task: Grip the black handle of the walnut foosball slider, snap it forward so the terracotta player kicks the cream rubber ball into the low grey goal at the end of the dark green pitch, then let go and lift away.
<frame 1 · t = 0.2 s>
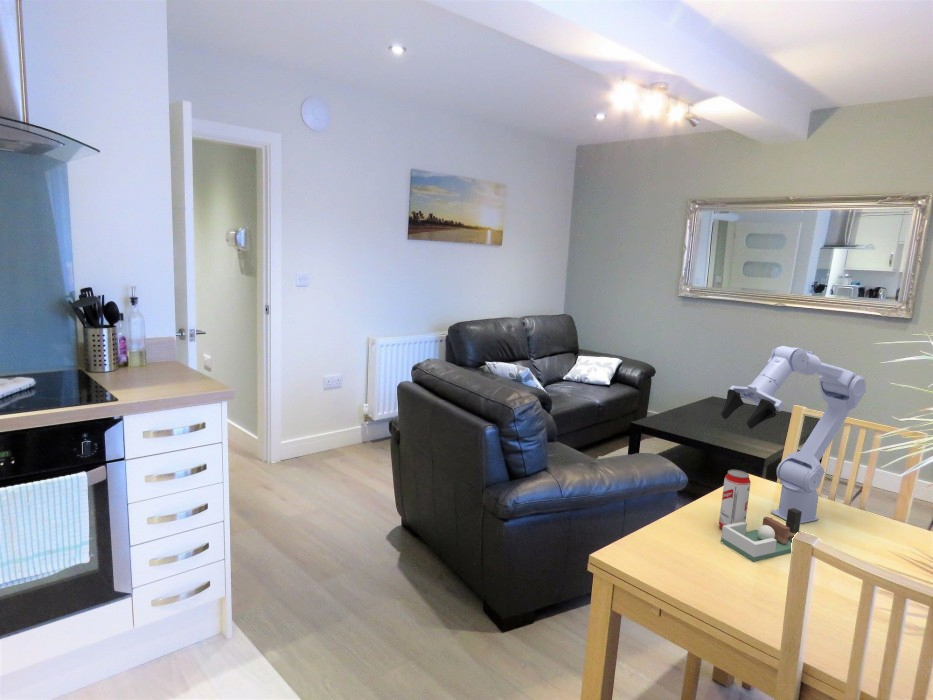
hand: (735, 421, 145), 31 cm above the table, tool tilted 45°, fingers open, 7 cm apart
ball: (766, 533, 145), point 3 cm above the table, touching pitch
pitch: (767, 544, 146), on the table
slider: (785, 523, 147), point 5 cm above the table, slide at 0.0 cm
beer can: (731, 530, 153), on the table
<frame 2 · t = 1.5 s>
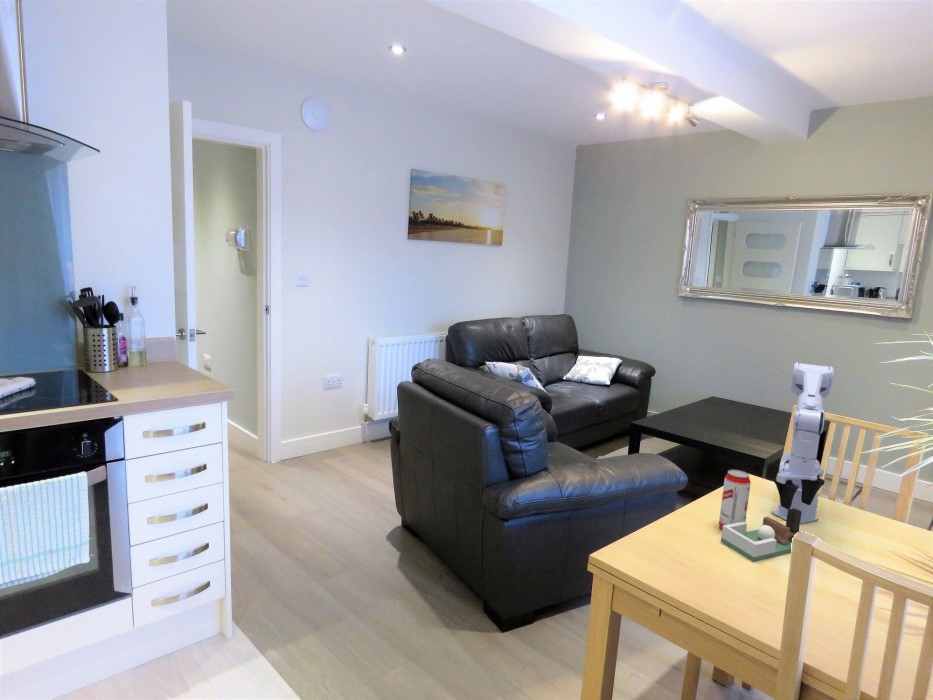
hand: (795, 505, 148), 9 cm above the table, tool pointing down, fingers open, 7 cm apart
nothing on the table moved.
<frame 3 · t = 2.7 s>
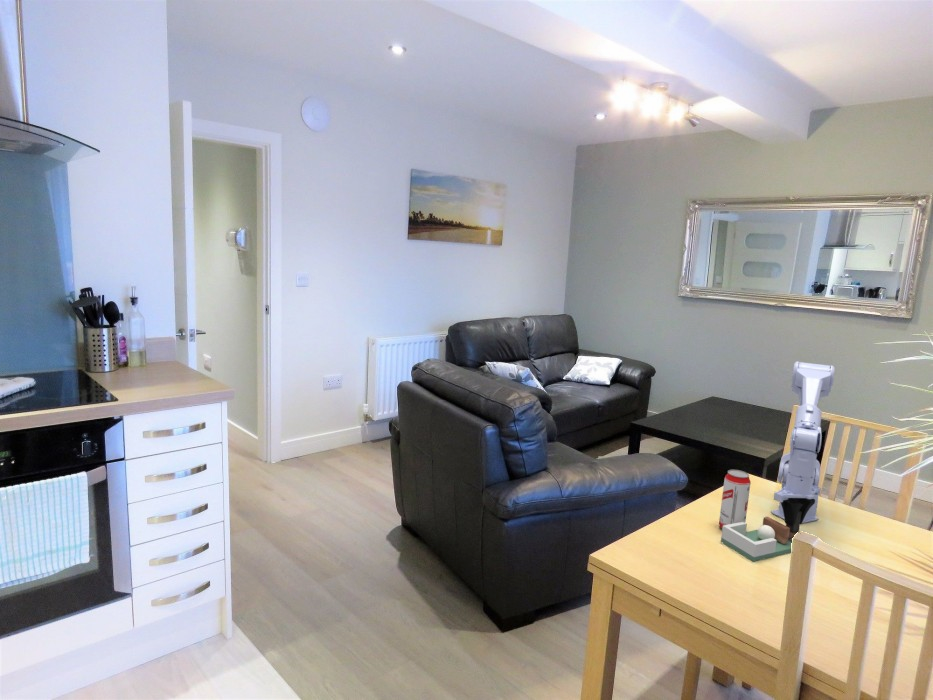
hand: (793, 523, 149), 4 cm above the table, tool pointing down, fingers closed on slider, 2 cm apart
slider: (785, 523, 147), point 5 cm above the table, slide at 0.0 cm, touching gripper
everything else where it was.
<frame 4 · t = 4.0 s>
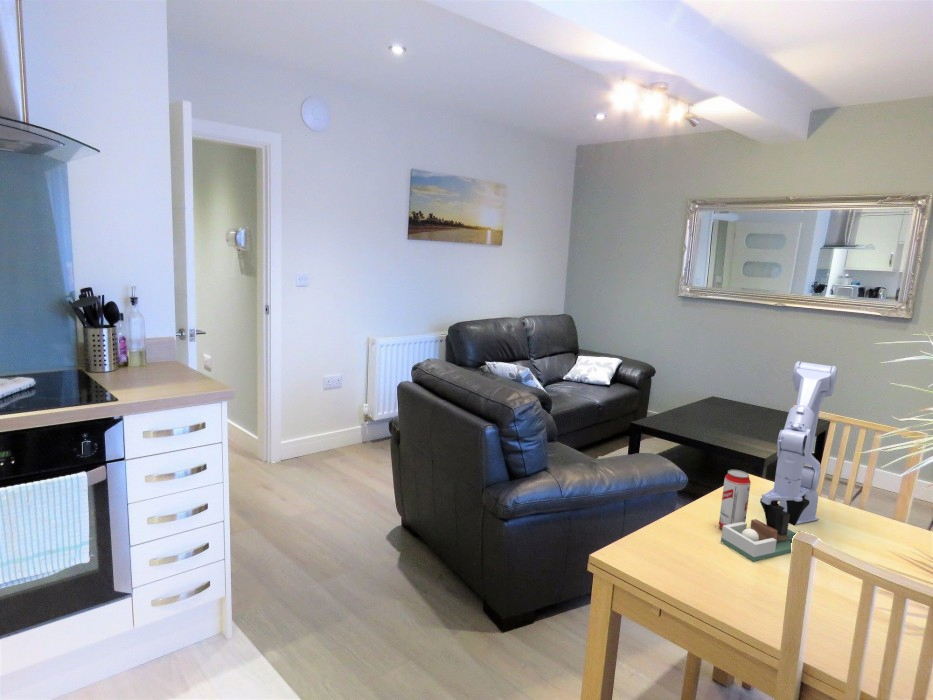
hand: (781, 525, 147), 4 cm above the table, tool pointing down, fingers open, 7 cm apart
ball: (749, 536, 143), point 3 cm above the table, tilted 159°, touching pitch
slider: (773, 526, 146), point 5 cm above the table, slide at 4.3 cm
everything else where it was.
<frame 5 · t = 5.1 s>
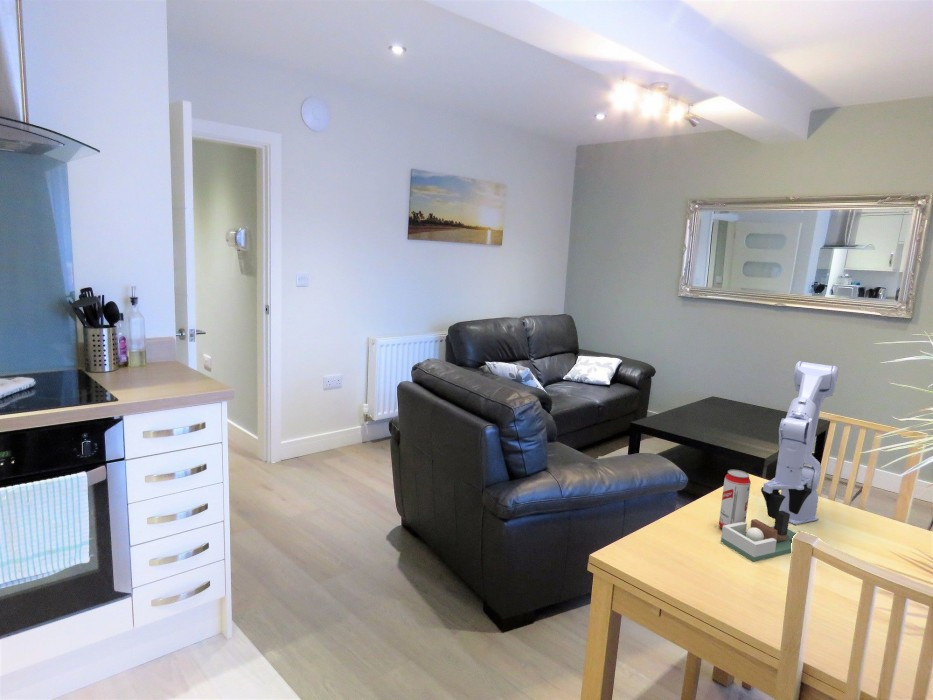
hand: (782, 514, 146), 7 cm above the table, tool pointing down, fingers open, 7 cm apart
ball: (754, 535, 144), point 3 cm above the table, tilted 109°, touching pitch
everything else where it was.
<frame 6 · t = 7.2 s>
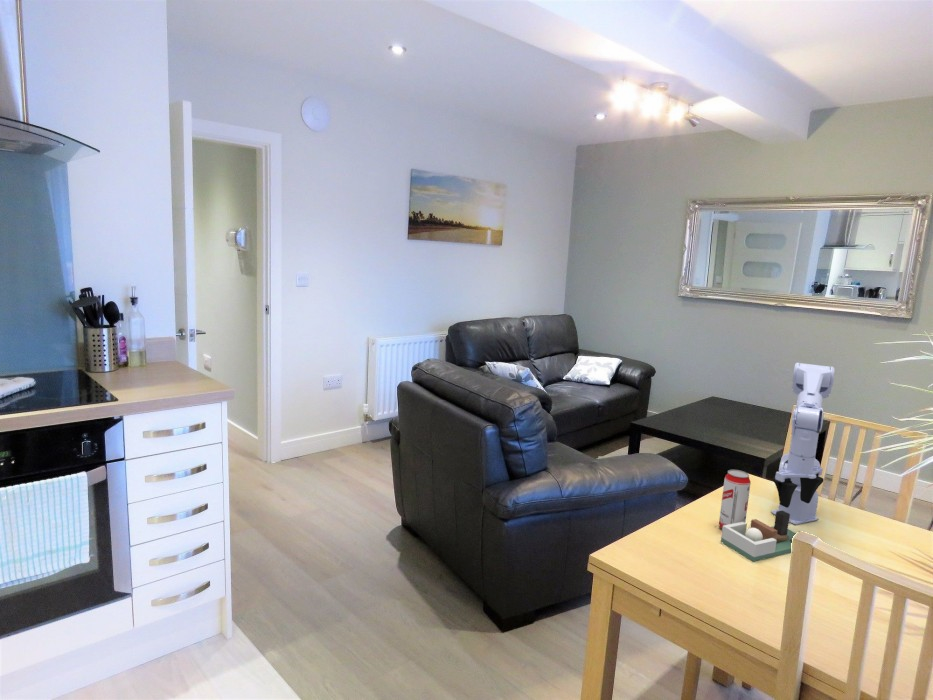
hand: (794, 503, 147), 10 cm above the table, tool pointing down, fingers open, 7 cm apart
ball: (753, 536, 144), point 3 cm above the table, tilted 120°, touching pitch
everything else where it was.
at the end: ball 1.2 cm from the target spot on the pitch, point 3.2 cm above the pitch's base; slider slide at 4.3 cm; beer can moved 0.2 cm from its start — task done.
